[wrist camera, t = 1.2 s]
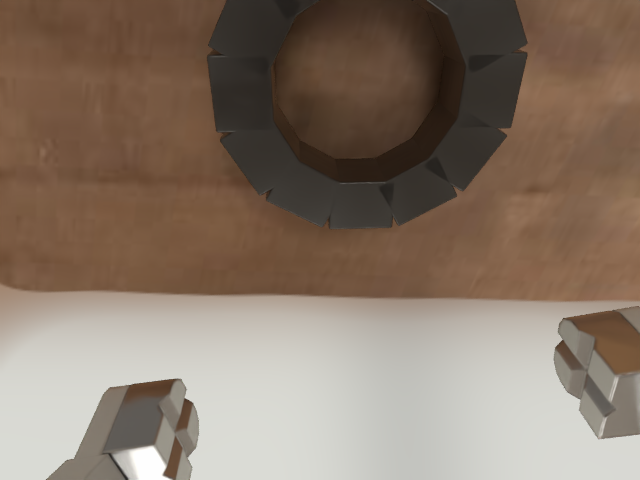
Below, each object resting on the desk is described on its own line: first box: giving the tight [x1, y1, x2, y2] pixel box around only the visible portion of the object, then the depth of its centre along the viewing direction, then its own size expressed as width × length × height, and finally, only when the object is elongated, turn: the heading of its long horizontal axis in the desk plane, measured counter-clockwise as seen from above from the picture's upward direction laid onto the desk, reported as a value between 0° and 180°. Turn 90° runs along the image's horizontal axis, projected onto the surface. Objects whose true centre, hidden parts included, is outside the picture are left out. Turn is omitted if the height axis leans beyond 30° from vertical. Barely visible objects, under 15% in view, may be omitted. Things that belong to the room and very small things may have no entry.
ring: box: [207, 0, 527, 229], centre depth 19 cm, size 12×12×3 cm
